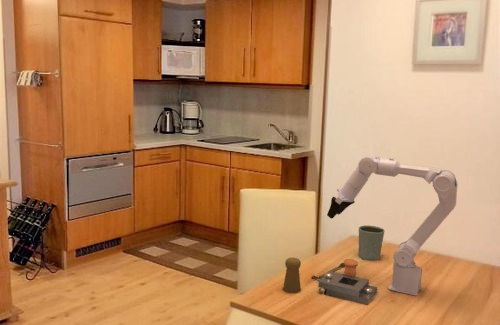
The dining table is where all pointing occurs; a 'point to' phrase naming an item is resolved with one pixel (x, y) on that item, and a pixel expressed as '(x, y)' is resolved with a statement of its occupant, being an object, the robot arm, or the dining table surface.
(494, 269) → the dining table surface
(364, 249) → the green cup
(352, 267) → the pin
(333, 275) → the link upper
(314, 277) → the tomahawk
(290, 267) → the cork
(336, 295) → the link lower
